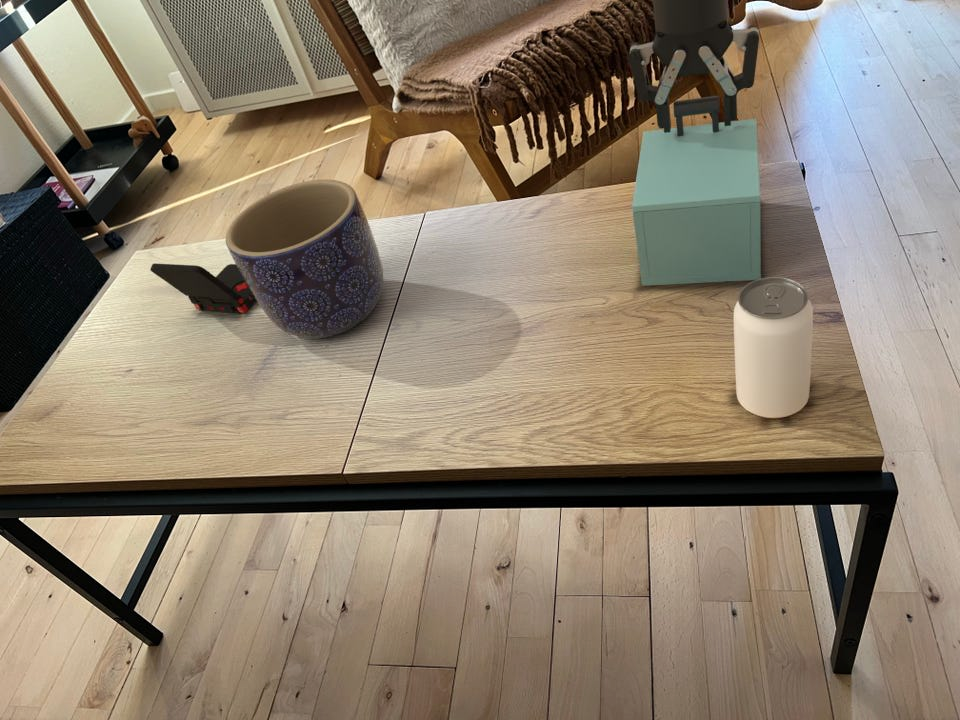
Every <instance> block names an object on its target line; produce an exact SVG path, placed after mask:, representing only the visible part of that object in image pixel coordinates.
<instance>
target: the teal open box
mask: <svg viewBox="0 0 960 720" xmlns="http://www.w3.org/2000/svg"><path fill="white" fill-rule="evenodd" d="M632 219H633V226H634V234H635V241H636V251H637V257H638V265H639V273H640V280H641V287H646V286H647V287H648V286H650V287H651V286H666V285H668V286H669V285H686V284H705V283H706V284H707V283H723V282H724V283H725V282H726V283H727V282H743V281H755V280H758V279H761V278H762V251H761V250H762V248H761V247H762V246H761V245H762V241H761V240H762V239H761V235H762V234H761V233H762V232H761V231H762V230H761V223H762V222H761V201H760V202H750V203H738V204H726V205H714V206H702V207H690V208H678V209H666V210H654V211H642V212H633V211H632Z"/></svg>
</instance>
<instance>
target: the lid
mask: <svg viewBox="0 0 960 720" xmlns="http://www.w3.org/2000/svg"><path fill="white" fill-rule="evenodd" d="M719 113H720V95H711V96H705V97H697V98H689V99H681V100H674V101H673V116H674V118H675V123H676V127H671V131H670V132H669V133H664V128H662V129H655V130H654V129H653V130H644V131H643V133H642V140H641V146H640V153H639V158H638V165H637V172H636V177H635V184H634V190H633V196H632V203H631V211H632V213H633V212H642V211H654V210H666V209H678V208H690V207H702V206H714V205H726V204H738V203H750V202H760V203H761V183H760V182H761V180H760V165H759V163H760V162H759V144H758V126H757V118H749V119H740V120H733V121H731V126H725V123H724V121H722V122H719V121H720V120H719ZM705 114H706V115H707V114H711V123H706V124H696V125H689V126H684V117H689V116H698V115H705Z"/></svg>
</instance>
